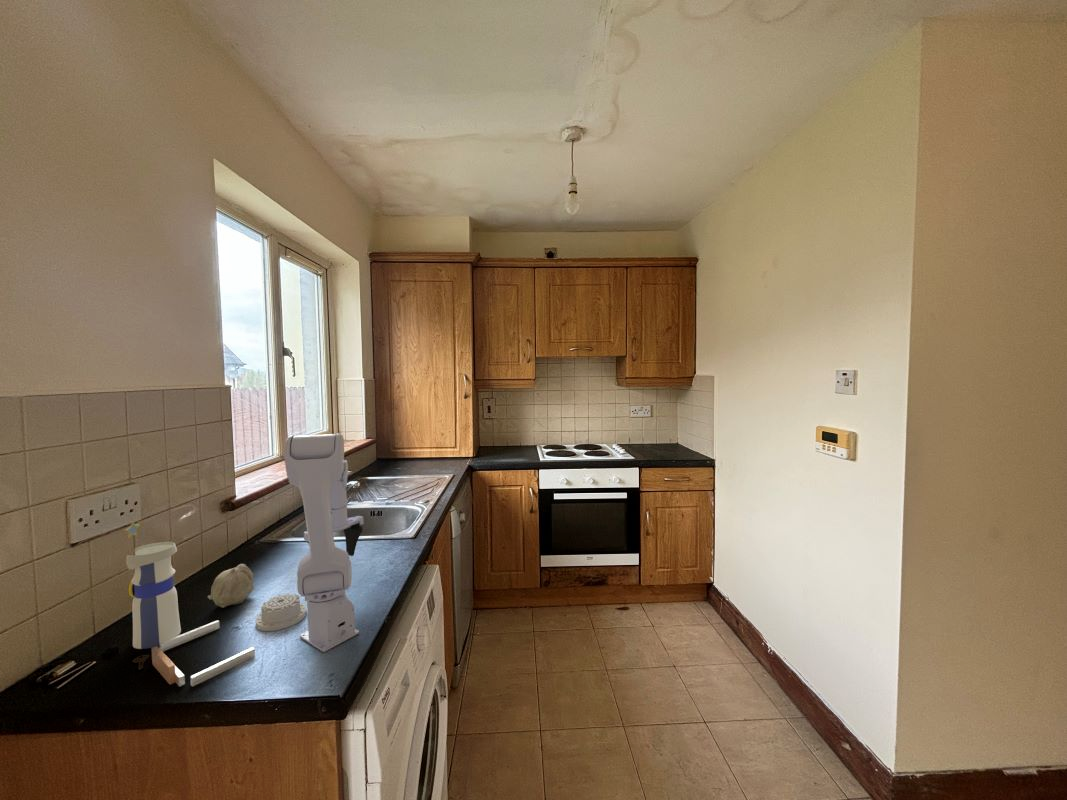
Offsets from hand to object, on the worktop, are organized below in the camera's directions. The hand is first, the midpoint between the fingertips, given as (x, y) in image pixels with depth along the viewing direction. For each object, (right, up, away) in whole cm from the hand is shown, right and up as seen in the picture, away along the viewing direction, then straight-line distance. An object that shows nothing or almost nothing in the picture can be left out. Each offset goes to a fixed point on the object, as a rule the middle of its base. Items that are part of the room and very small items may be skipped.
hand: (336, 560), depth 107 cm
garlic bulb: (-24, -10, -3) cm, 26 cm away
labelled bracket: (-16, -10, -23) cm, 30 cm away
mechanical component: (-8, -10, -10) cm, 16 cm away
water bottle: (-30, -10, -17) cm, 36 cm away
